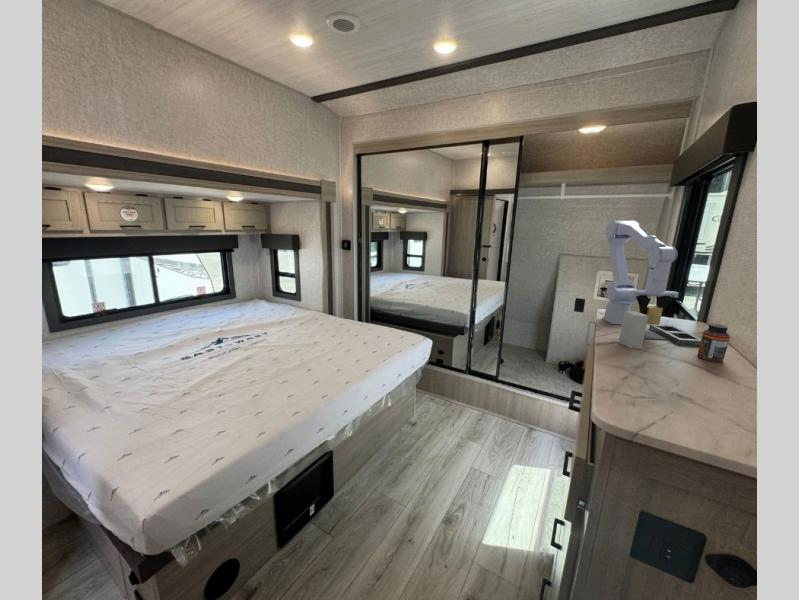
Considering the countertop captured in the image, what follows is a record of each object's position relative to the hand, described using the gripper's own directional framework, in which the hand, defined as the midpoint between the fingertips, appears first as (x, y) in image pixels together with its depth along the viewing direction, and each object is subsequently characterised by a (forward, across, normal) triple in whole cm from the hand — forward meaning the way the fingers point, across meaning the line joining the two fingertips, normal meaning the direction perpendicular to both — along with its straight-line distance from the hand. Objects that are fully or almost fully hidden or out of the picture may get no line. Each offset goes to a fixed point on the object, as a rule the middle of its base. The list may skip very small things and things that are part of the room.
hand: (650, 314), depth 115 cm
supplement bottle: (+8, +8, -20) cm, 23 cm away
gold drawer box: (+3, 0, 0) cm, 3 cm away
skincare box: (+8, -12, -12) cm, 19 cm away
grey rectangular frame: (+8, +10, 0) cm, 13 cm away
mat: (+8, 0, 0) cm, 8 cm away
